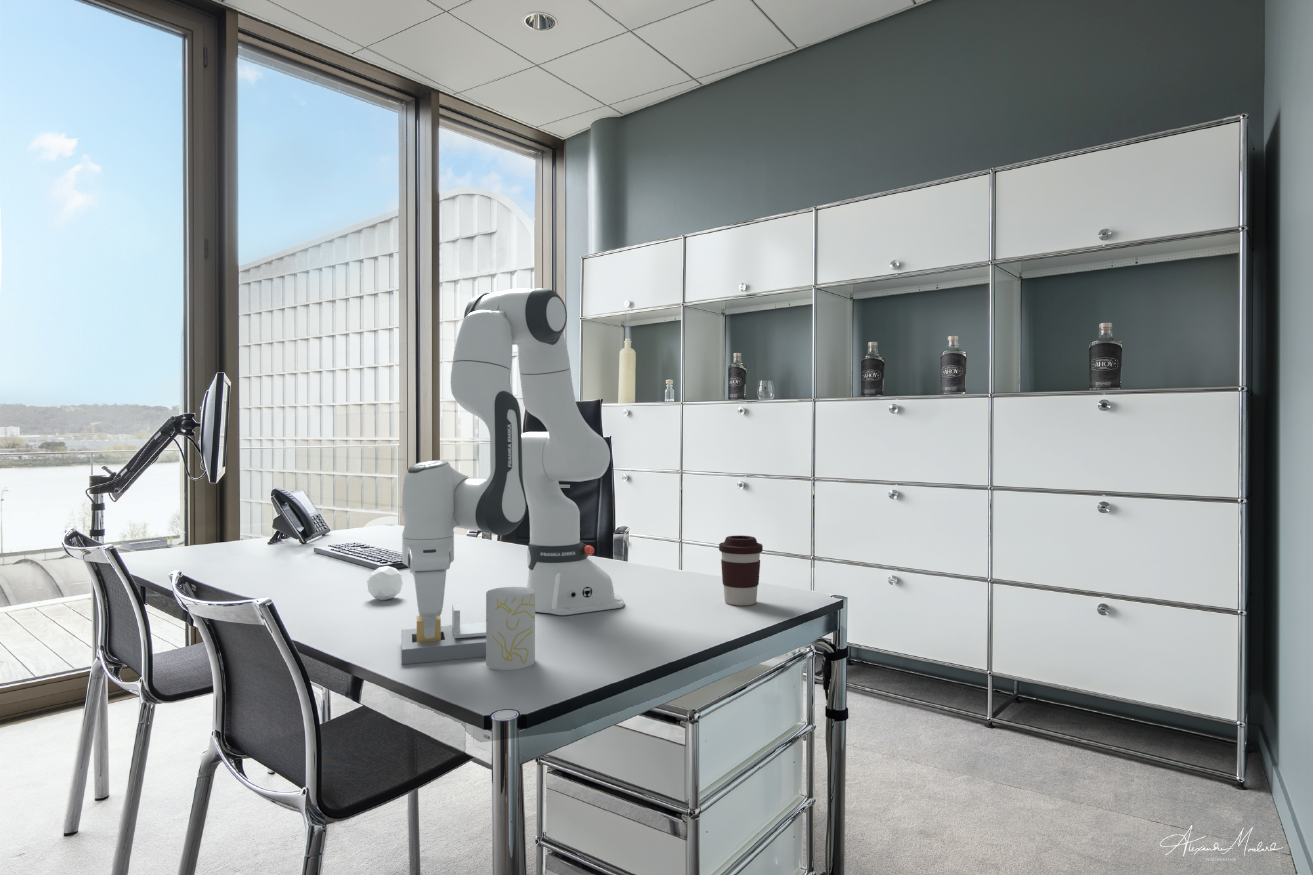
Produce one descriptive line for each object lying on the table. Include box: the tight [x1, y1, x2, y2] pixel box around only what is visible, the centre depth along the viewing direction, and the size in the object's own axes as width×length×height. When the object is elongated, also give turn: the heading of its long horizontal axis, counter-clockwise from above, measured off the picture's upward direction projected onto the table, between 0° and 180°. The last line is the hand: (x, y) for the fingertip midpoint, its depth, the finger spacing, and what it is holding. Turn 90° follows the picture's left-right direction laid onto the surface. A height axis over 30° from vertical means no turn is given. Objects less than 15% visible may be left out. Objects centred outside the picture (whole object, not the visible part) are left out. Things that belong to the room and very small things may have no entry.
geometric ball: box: [366, 565, 404, 601], centre depth 171 cm, size 8×8×8 cm
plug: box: [416, 615, 442, 642], centre depth 132 cm, size 4×4×8 cm
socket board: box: [400, 625, 486, 665], centre depth 133 cm, size 13×15×2 cm
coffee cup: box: [718, 535, 764, 607], centre depth 169 cm, size 10×10×15 cm
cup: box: [485, 586, 536, 671], centre depth 125 cm, size 8×8×12 cm
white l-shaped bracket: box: [451, 603, 486, 638], centre depth 134 cm, size 7×6×5 cm
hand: (428, 629), depth 132 cm, fingers open, 8 cm apart
